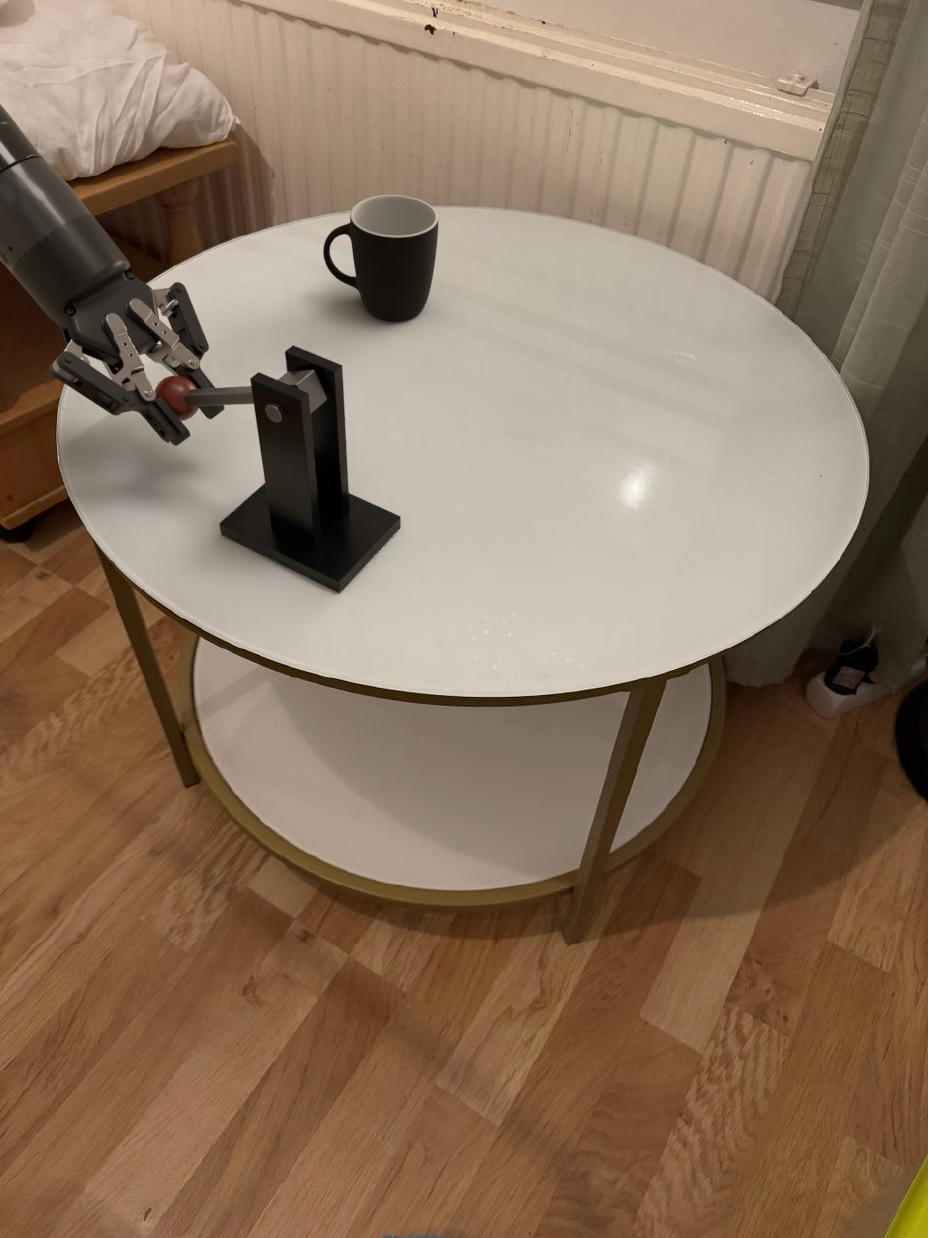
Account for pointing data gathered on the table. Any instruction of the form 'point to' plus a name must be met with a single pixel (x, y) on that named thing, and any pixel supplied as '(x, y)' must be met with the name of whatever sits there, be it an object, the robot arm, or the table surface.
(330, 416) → the bracket
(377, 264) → the mug
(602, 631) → the table surface
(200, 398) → the lever
